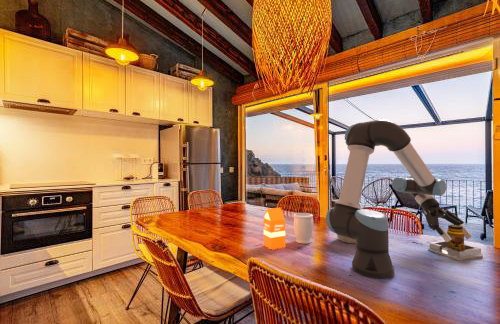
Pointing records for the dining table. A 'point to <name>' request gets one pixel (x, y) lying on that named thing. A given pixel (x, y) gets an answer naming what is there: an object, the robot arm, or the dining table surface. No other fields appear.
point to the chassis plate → (455, 251)
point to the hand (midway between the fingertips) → (459, 239)
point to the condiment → (455, 237)
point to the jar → (303, 227)
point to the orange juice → (274, 228)
